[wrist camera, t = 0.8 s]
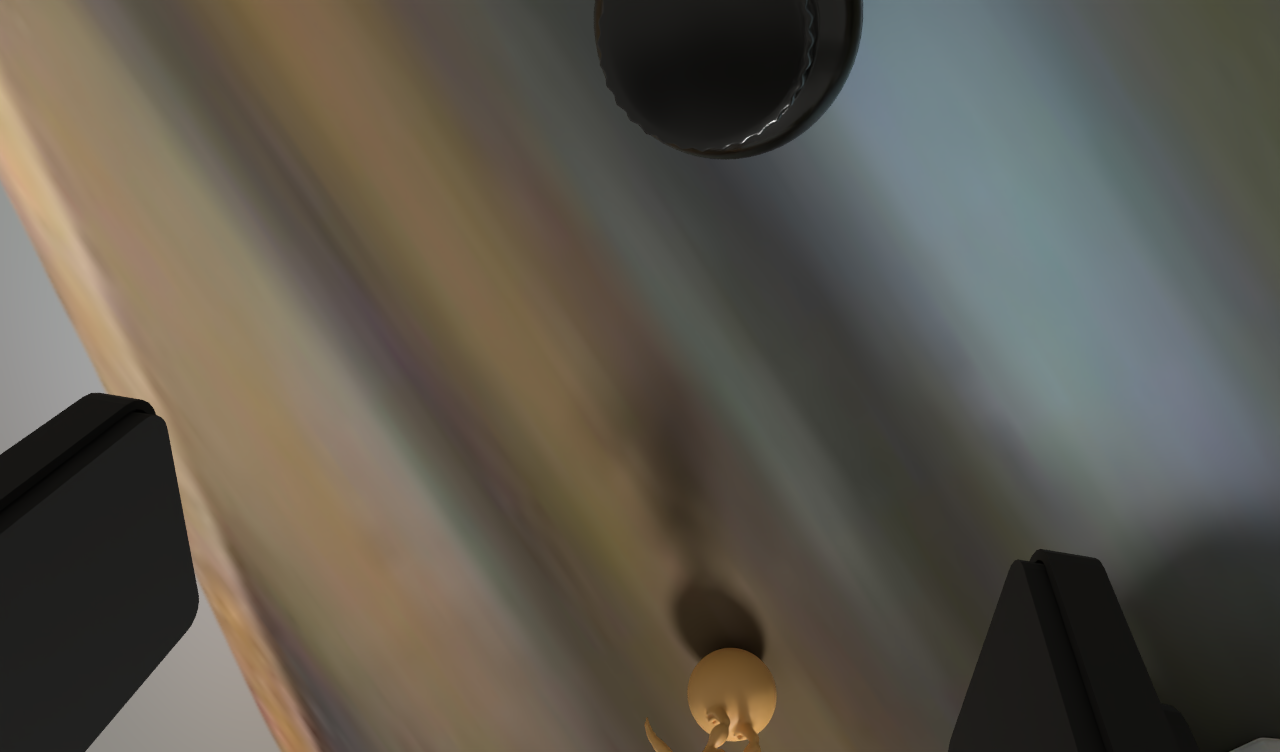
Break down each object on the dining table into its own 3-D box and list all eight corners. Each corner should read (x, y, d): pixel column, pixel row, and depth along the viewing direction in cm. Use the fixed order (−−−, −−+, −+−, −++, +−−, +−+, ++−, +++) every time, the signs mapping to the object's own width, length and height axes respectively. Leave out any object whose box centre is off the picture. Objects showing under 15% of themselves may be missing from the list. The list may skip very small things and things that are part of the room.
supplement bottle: (908, 1, 30) (934, 60, 19) (746, 144, 33) (694, 260, 22) (766, -176, 28) (713, -215, 18) (612, -10, 32) (490, 39, 21)
